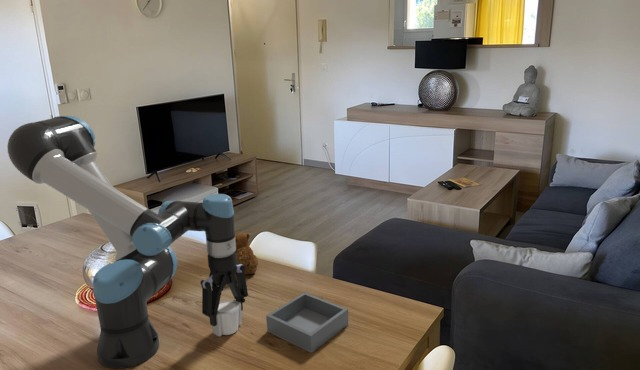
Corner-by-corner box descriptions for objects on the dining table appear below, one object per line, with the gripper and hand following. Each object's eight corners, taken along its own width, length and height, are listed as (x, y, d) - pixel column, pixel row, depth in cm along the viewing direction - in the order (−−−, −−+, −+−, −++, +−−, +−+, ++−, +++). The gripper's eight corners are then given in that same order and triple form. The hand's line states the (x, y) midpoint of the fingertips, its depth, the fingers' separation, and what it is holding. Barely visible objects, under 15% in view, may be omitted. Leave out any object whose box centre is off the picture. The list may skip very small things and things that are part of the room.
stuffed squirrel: (255, 259, 180) (252, 226, 176) (264, 275, 167) (262, 240, 164) (228, 264, 177) (225, 230, 173) (235, 281, 164) (232, 245, 160)
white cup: (235, 337, 132) (233, 314, 130) (211, 334, 134) (209, 312, 132) (243, 323, 139) (242, 301, 137) (221, 321, 140) (219, 299, 138)
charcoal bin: (311, 352, 125) (310, 335, 124) (267, 331, 135) (266, 315, 134) (348, 324, 137) (348, 309, 136) (305, 307, 147) (304, 292, 145)
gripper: (200, 269, 120) (208, 350, 126) (258, 243, 134) (262, 317, 141) (181, 261, 124) (190, 339, 131) (240, 237, 139) (245, 308, 146)
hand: (227, 328), depth 136 cm, fingers closed on white cup, 7 cm apart
